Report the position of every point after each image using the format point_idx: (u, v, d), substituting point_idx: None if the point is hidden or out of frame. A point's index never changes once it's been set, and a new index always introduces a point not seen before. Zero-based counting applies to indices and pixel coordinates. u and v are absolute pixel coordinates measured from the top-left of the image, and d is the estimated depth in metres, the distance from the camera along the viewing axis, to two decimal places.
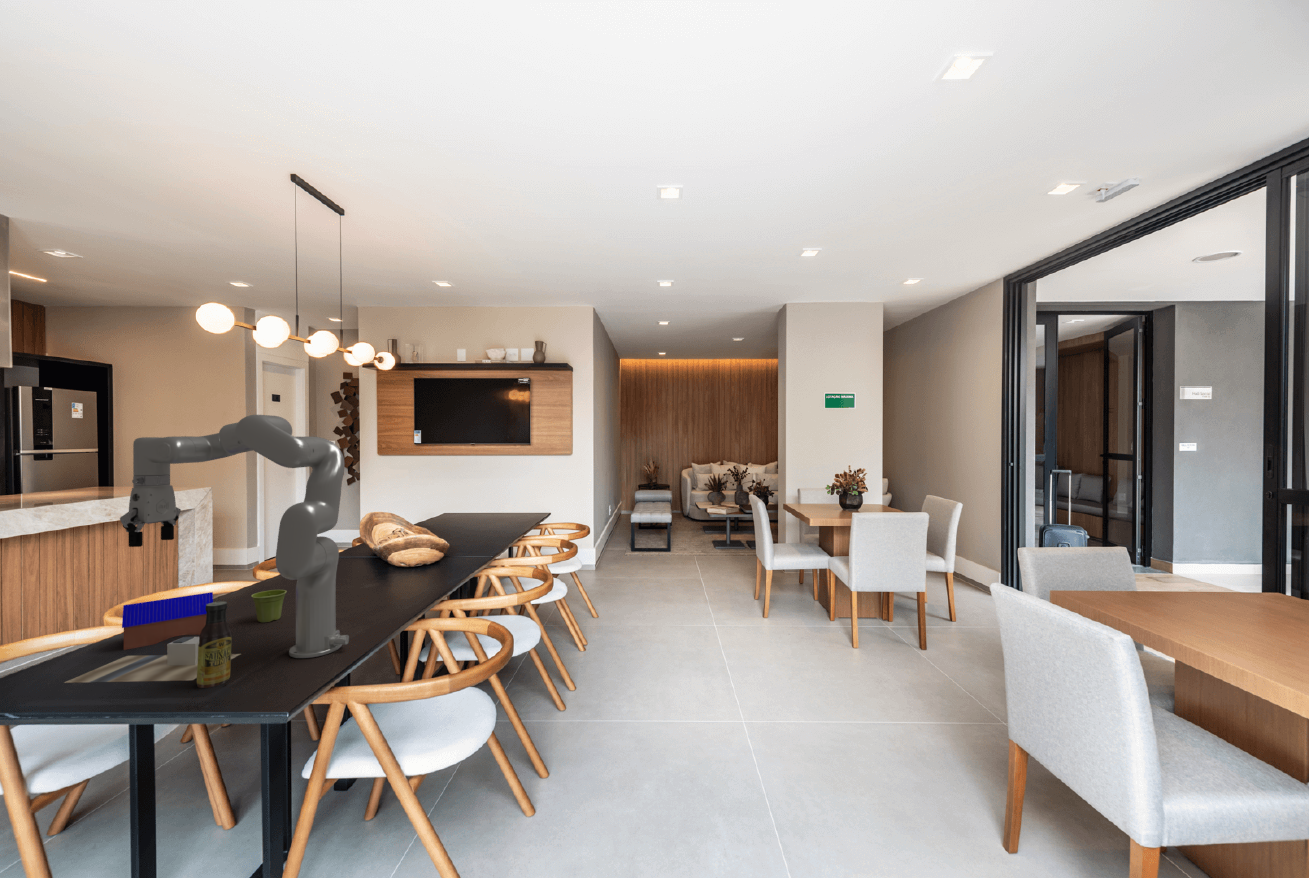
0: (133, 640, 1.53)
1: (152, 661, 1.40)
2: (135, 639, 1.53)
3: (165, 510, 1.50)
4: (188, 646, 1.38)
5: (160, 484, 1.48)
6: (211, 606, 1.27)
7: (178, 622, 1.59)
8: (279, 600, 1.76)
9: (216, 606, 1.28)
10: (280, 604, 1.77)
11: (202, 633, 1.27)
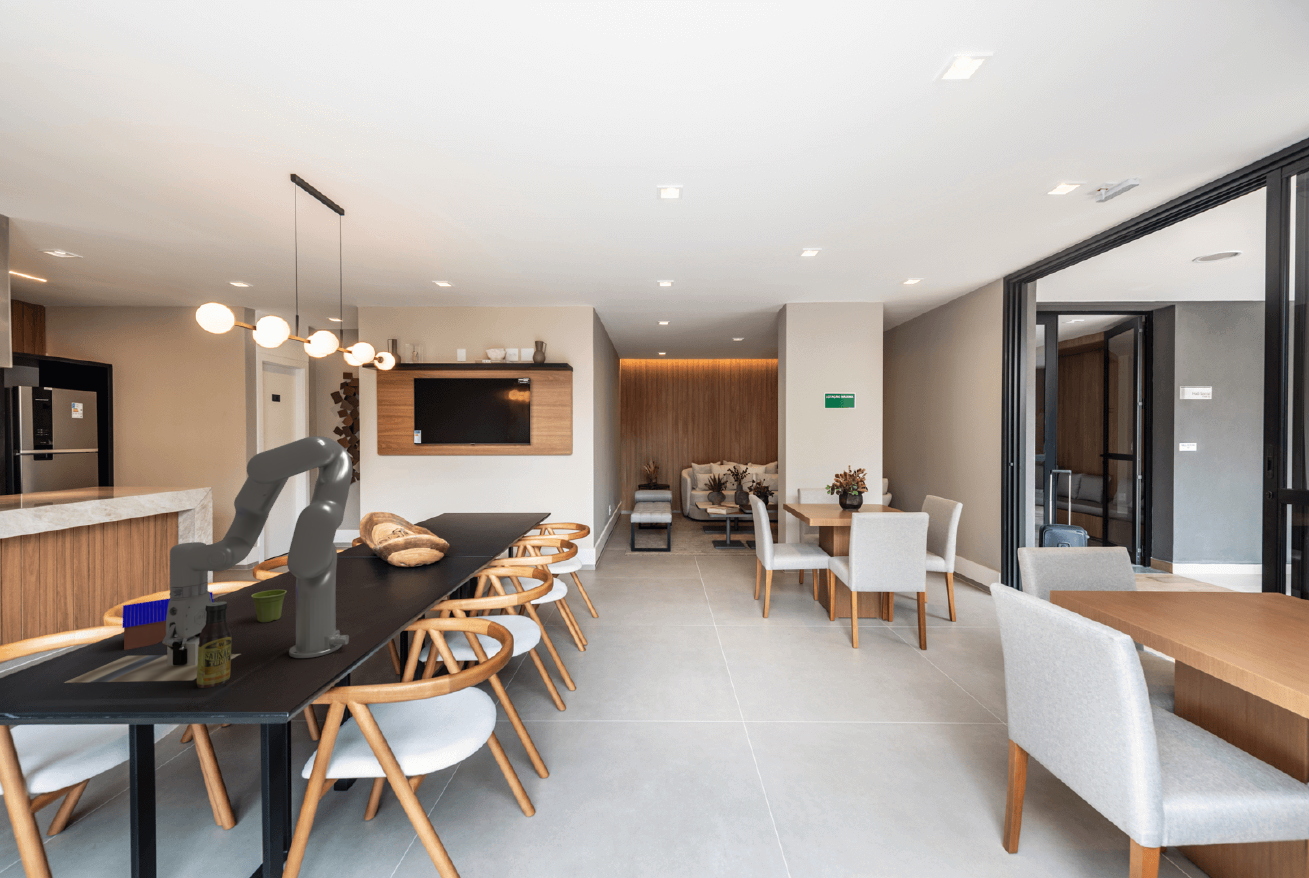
0: (134, 640, 1.53)
1: (152, 661, 1.40)
2: (136, 639, 1.53)
3: (203, 620, 1.42)
4: (188, 646, 1.38)
5: (198, 594, 1.39)
6: (211, 606, 1.27)
7: None
8: (279, 600, 1.76)
9: (216, 606, 1.28)
10: (280, 604, 1.77)
11: (202, 633, 1.27)
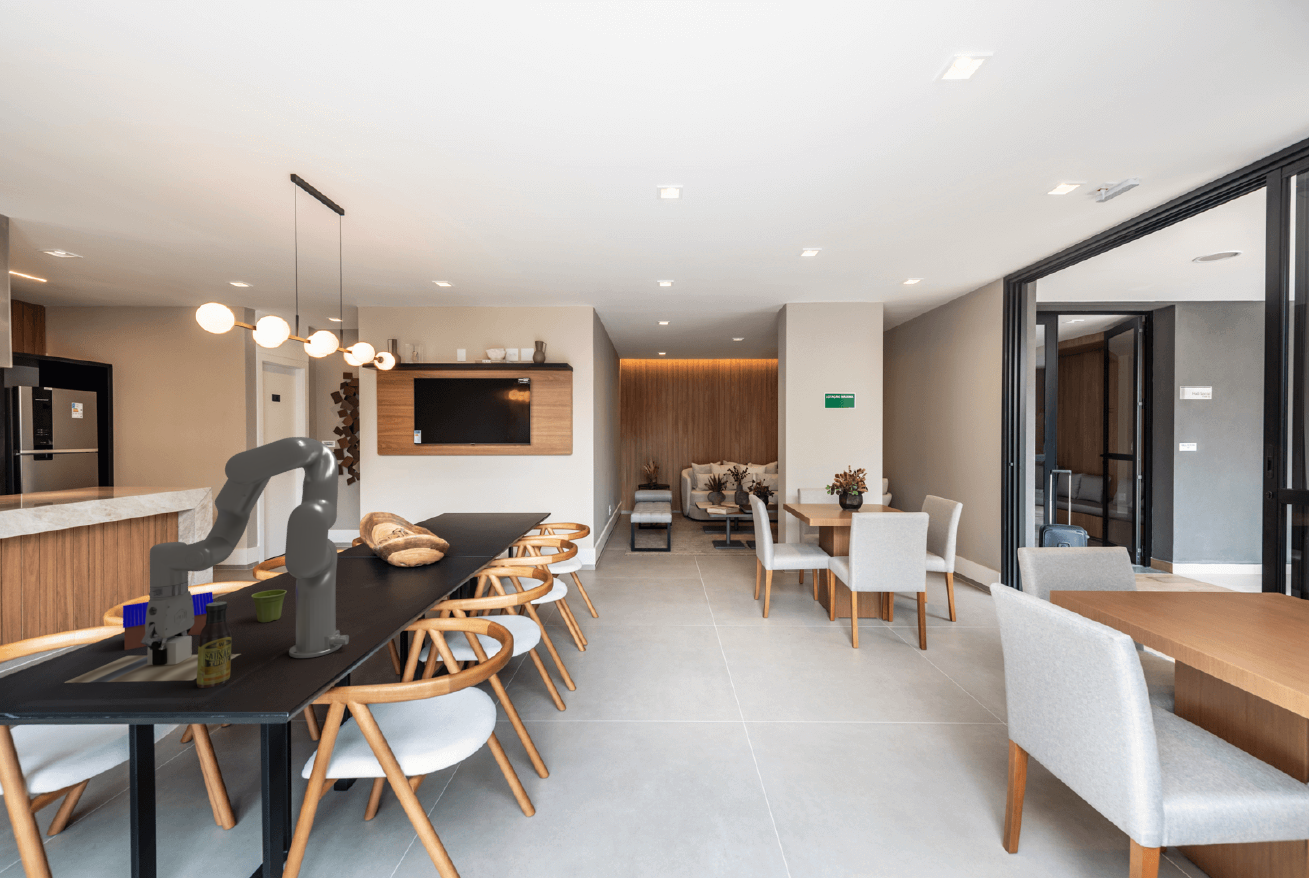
0: (134, 640, 1.53)
1: None
2: (136, 639, 1.53)
3: (183, 620, 1.42)
4: (168, 646, 1.38)
5: (178, 594, 1.39)
6: (211, 606, 1.27)
7: None
8: (279, 600, 1.76)
9: (216, 606, 1.28)
10: (280, 604, 1.77)
11: (202, 633, 1.27)
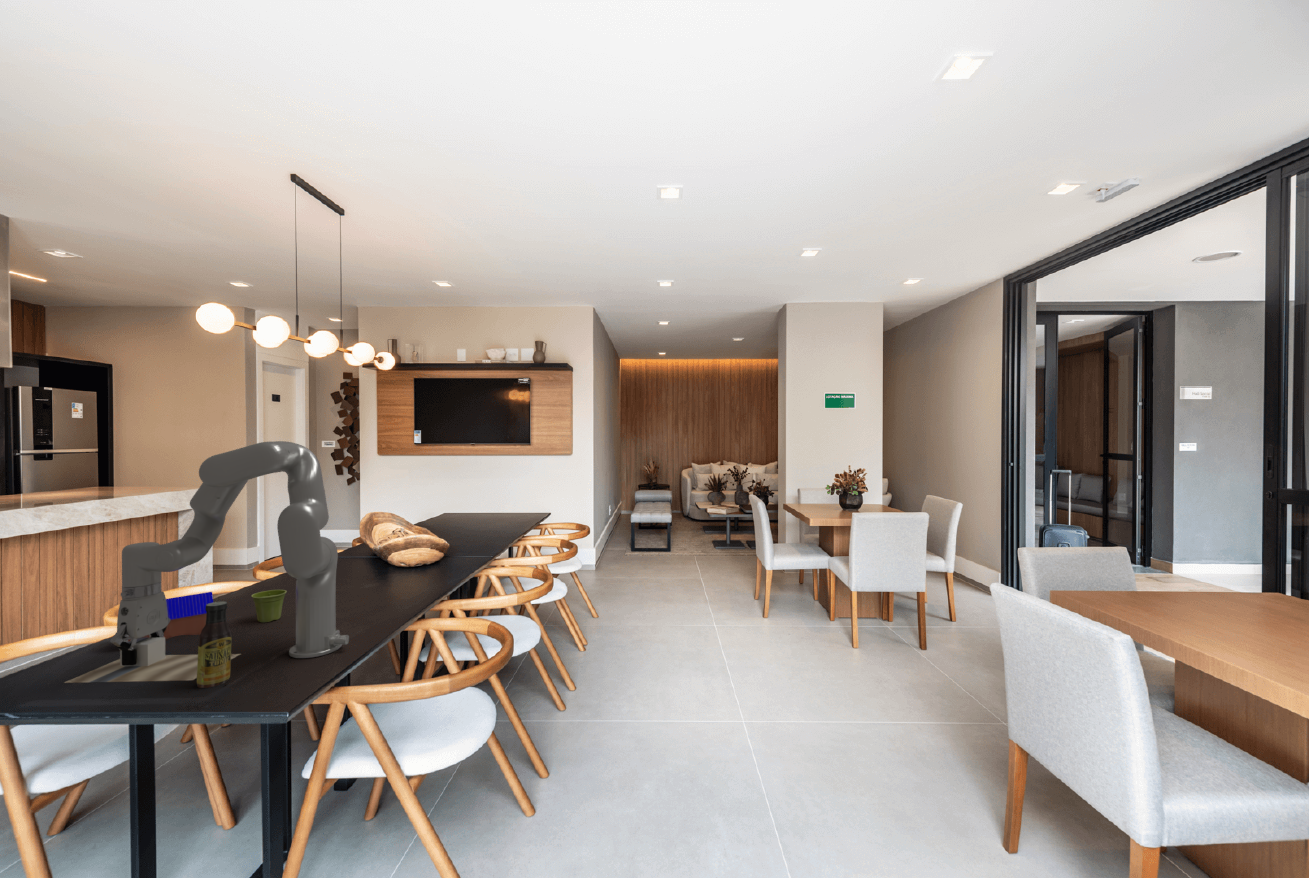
0: None
1: None
2: None
3: (156, 620, 1.41)
4: (140, 647, 1.38)
5: (151, 594, 1.39)
6: (211, 606, 1.27)
7: (179, 622, 1.60)
8: (279, 600, 1.76)
9: (216, 606, 1.28)
10: (280, 604, 1.77)
11: (202, 633, 1.27)
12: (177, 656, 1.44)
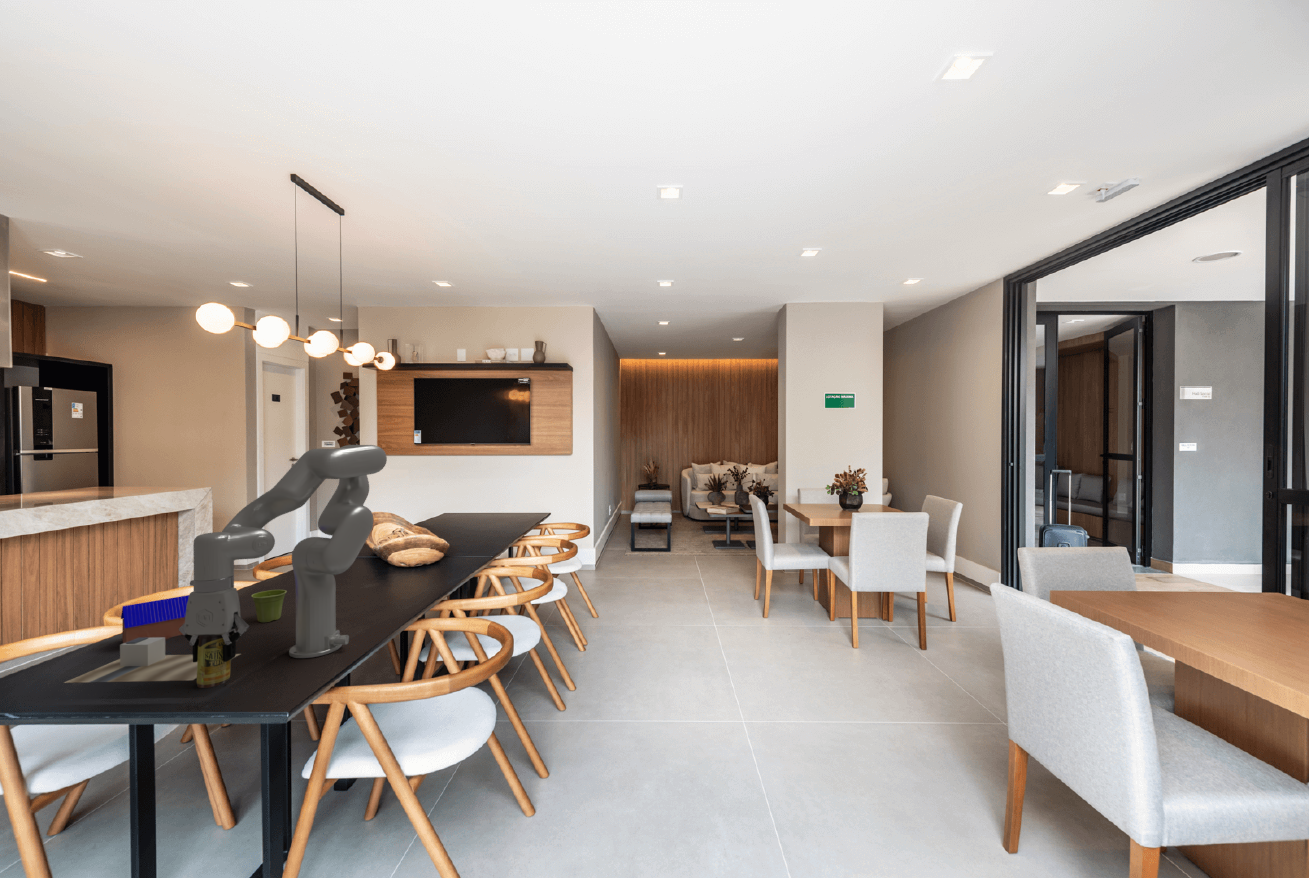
0: None
1: None
2: None
3: (209, 622, 1.26)
4: (140, 647, 1.38)
5: (196, 591, 1.25)
6: None
7: (180, 621, 1.60)
8: (279, 600, 1.76)
9: None
10: (280, 604, 1.77)
11: None
12: (177, 656, 1.44)
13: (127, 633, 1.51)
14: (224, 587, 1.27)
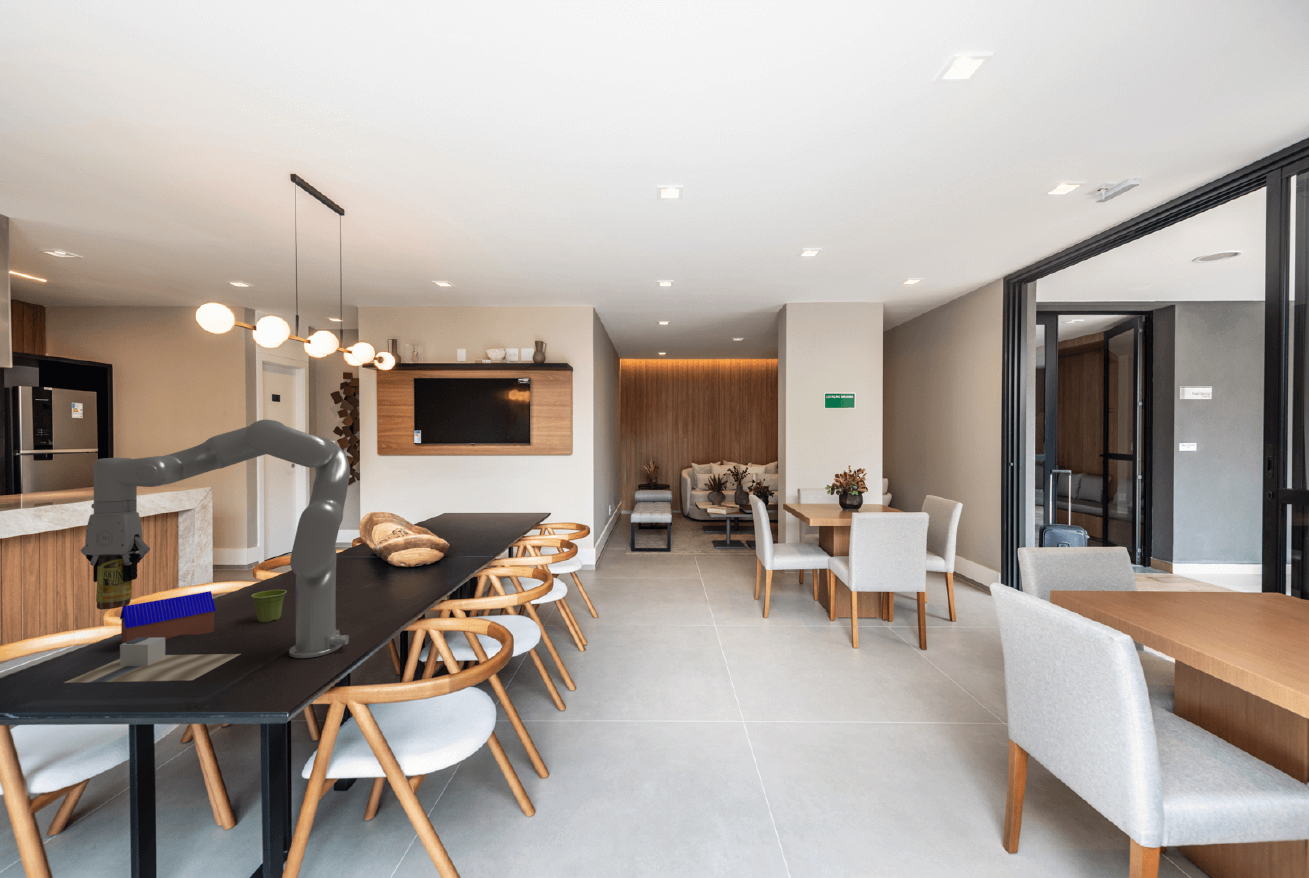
0: None
1: None
2: None
3: (108, 543, 1.30)
4: (140, 647, 1.38)
5: (95, 512, 1.29)
6: None
7: (181, 621, 1.60)
8: (279, 600, 1.76)
9: None
10: (280, 604, 1.77)
11: None
12: (177, 656, 1.44)
13: (128, 633, 1.51)
14: (124, 509, 1.31)
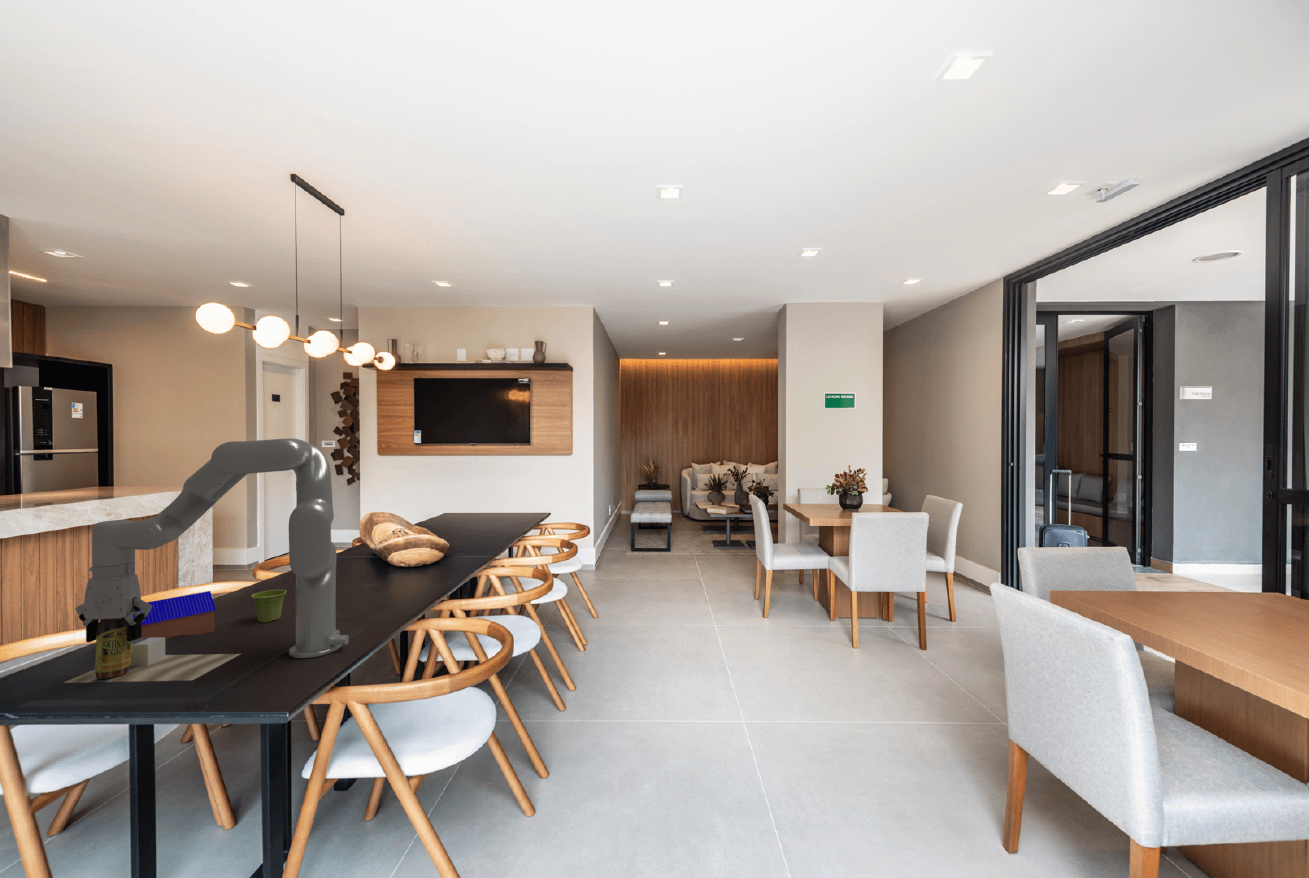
0: None
1: None
2: None
3: (107, 607, 1.30)
4: (140, 647, 1.38)
5: (94, 577, 1.29)
6: None
7: (181, 621, 1.60)
8: (279, 600, 1.76)
9: None
10: (280, 604, 1.77)
11: (100, 622, 1.30)
12: (177, 656, 1.44)
13: None
14: (123, 573, 1.31)
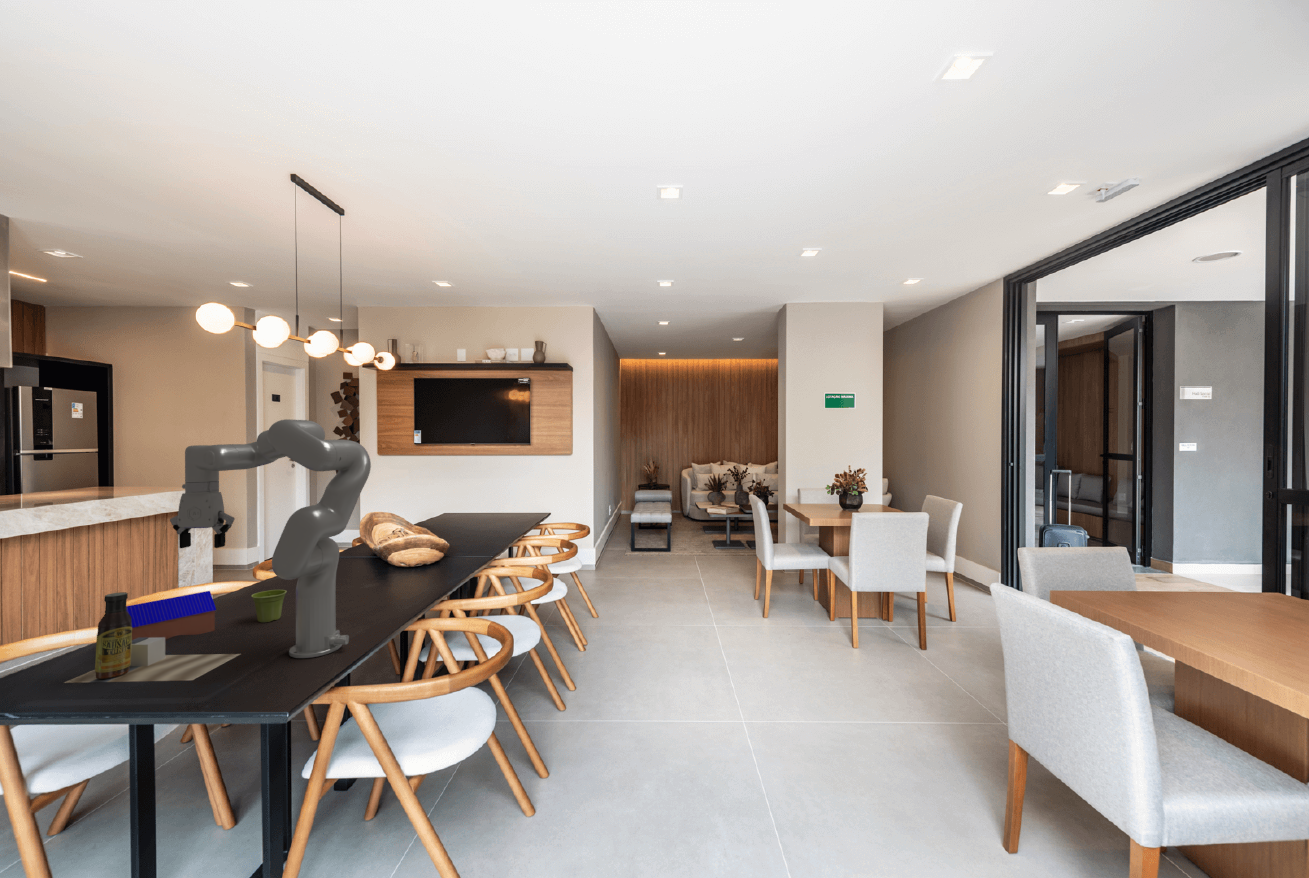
0: None
1: None
2: None
3: (198, 517, 1.52)
4: (140, 647, 1.38)
5: (187, 491, 1.51)
6: (110, 596, 1.31)
7: (182, 621, 1.61)
8: (279, 600, 1.76)
9: (115, 596, 1.32)
10: (280, 604, 1.77)
11: (101, 622, 1.31)
12: (177, 656, 1.44)
13: None
14: (210, 489, 1.54)
